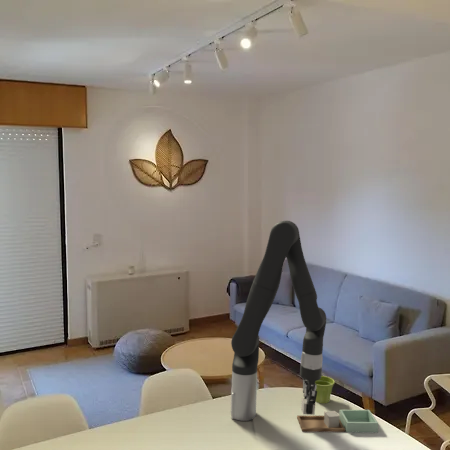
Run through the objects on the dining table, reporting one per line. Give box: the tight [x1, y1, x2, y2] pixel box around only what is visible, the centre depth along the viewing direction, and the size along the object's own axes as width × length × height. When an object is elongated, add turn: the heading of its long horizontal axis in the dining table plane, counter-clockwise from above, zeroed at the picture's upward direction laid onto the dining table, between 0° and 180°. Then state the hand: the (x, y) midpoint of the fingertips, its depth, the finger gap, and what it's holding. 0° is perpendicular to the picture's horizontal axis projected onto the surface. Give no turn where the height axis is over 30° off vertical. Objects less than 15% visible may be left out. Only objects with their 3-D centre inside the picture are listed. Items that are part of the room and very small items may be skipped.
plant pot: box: [315, 375, 335, 404], centre depth 203 cm, size 9×9×9 cm
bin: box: [338, 409, 379, 433], centre depth 183 cm, size 11×10×4 cm
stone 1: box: [300, 397, 316, 416], centre depth 183 cm, size 4×4×4 cm
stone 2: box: [323, 410, 339, 428], centre depth 183 cm, size 4×4×4 cm
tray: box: [296, 415, 346, 433], centre depth 183 cm, size 15×10×2 cm, turn 92°
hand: (307, 410), depth 183 cm, fingers closed on stone 1, 4 cm apart
